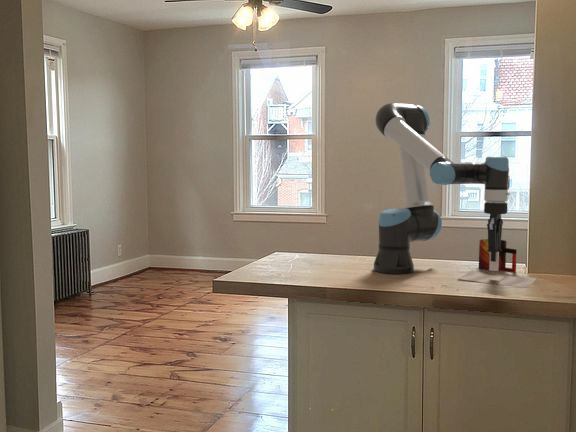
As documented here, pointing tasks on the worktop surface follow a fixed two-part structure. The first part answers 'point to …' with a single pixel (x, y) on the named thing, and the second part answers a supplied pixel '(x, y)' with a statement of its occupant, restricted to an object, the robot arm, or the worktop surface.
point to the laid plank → (516, 281)
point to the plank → (481, 277)
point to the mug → (485, 256)
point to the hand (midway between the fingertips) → (493, 270)
